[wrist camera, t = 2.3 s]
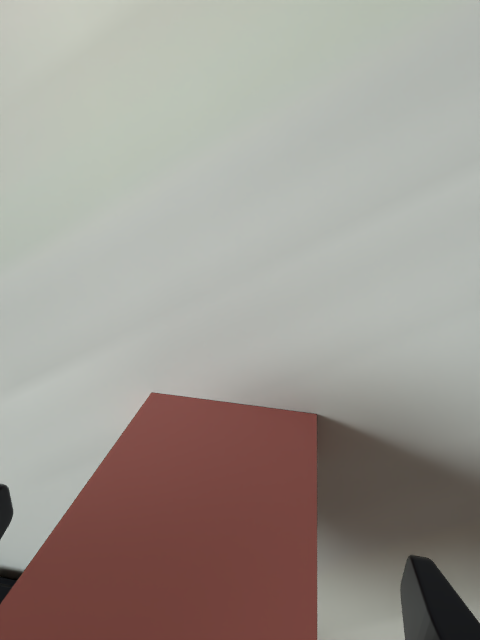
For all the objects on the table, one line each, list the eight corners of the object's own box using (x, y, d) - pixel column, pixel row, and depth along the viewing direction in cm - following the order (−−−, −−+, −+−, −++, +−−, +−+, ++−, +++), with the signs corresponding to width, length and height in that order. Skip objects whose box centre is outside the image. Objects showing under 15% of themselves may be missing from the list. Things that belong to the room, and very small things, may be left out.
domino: (311, 459, 12) (303, 889, 5) (153, 435, 13) (-54, 783, 6) (316, 414, 12) (316, 827, 4) (151, 392, 13) (-82, 717, 5)
